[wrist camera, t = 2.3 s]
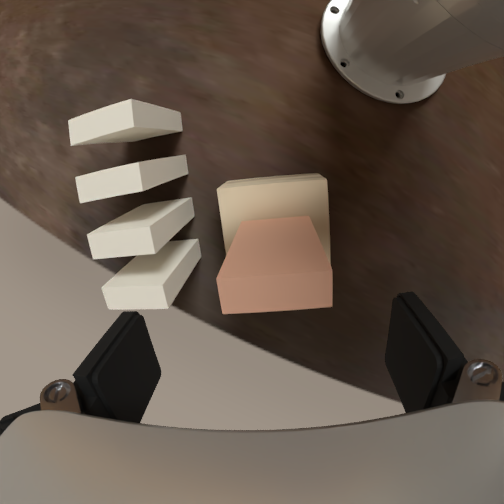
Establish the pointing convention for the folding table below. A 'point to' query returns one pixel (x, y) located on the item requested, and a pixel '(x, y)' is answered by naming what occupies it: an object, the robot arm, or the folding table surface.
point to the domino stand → (275, 203)
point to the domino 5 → (275, 268)
